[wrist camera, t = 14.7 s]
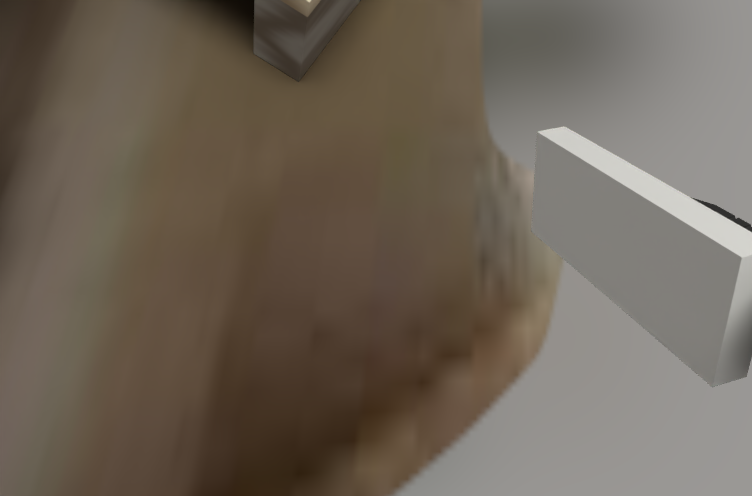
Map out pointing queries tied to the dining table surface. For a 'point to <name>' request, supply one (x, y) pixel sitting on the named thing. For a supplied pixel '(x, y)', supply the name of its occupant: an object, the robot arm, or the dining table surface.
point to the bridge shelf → (296, 31)
